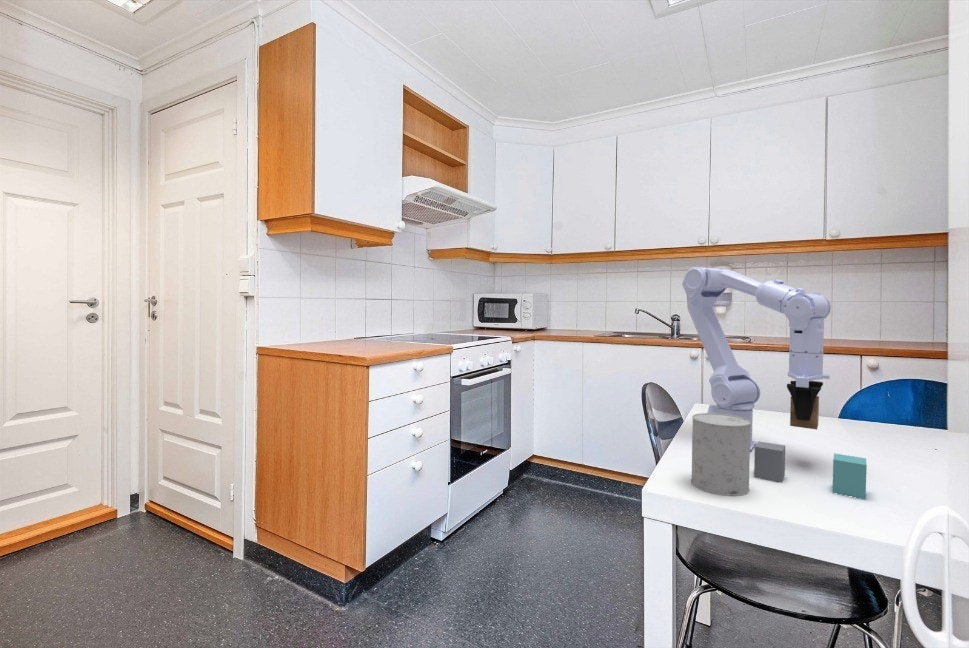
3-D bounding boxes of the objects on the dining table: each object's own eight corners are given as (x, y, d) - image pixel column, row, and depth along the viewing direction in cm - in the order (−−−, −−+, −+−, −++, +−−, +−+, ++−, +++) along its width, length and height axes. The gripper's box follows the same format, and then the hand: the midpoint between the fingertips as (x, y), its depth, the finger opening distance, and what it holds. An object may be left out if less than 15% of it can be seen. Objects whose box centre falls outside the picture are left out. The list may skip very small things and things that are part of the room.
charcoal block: (754, 477, 88) (754, 446, 88) (757, 471, 92) (758, 441, 91) (781, 483, 85) (782, 451, 85) (784, 476, 89) (785, 445, 89)
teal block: (832, 493, 81) (833, 459, 80) (833, 485, 84) (834, 453, 84) (865, 500, 78) (866, 465, 78) (865, 491, 81) (866, 458, 81)
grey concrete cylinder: (748, 500, 77) (749, 428, 77) (687, 488, 82) (688, 421, 82) (750, 482, 86) (751, 417, 85) (694, 472, 91) (695, 410, 90)
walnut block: (790, 425, 94) (790, 397, 94) (792, 421, 98) (793, 393, 98) (816, 429, 91) (817, 399, 91) (818, 425, 95) (819, 396, 95)
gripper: (828, 356, 86) (826, 427, 86) (831, 350, 97) (830, 414, 98) (784, 353, 90) (782, 422, 91) (791, 348, 102) (790, 409, 102)
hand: (804, 417), depth 95 cm, fingers closed on walnut block, 4 cm apart
